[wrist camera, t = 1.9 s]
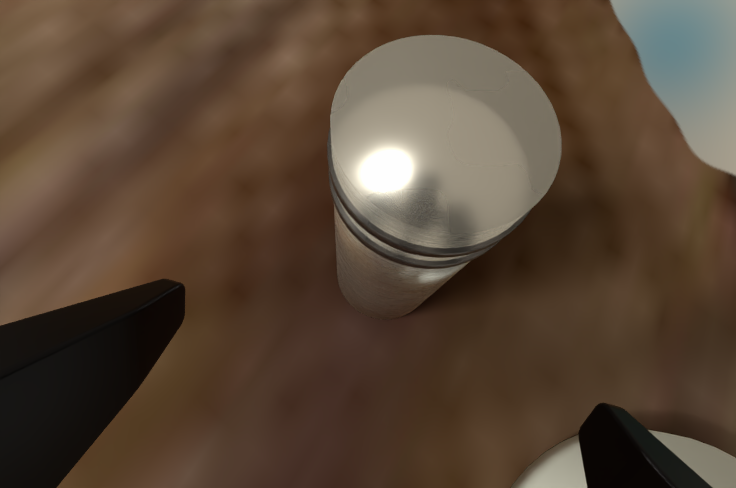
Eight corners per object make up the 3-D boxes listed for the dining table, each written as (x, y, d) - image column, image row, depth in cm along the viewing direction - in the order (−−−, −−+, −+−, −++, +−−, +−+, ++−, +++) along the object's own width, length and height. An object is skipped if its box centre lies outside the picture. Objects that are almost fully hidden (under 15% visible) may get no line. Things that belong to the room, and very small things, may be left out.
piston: (384, 343, 19) (460, 292, 7) (314, 270, 20) (274, 114, 8) (451, 273, 21) (611, 131, 8) (383, 209, 22) (437, -1, 9)
